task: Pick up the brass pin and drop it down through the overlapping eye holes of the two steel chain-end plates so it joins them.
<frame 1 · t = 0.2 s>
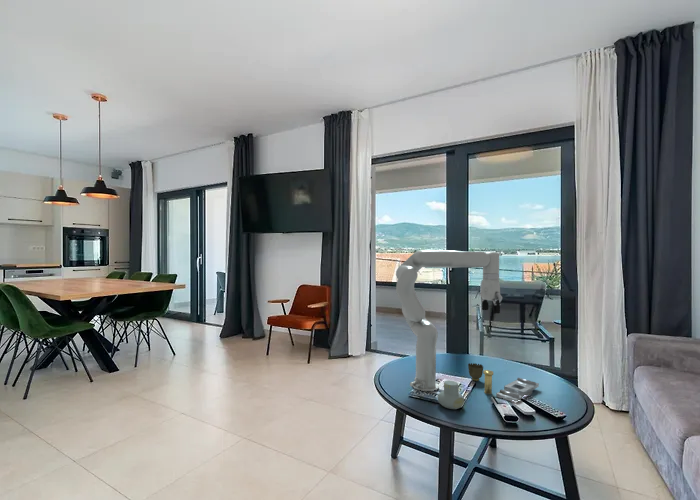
hand: (490, 311, 173), 36 cm above the table, tool pointing down, fingers open, 9 cm apart
brass pin: (488, 393, 163), on the table
air freshener: (450, 406, 149), on the table
cup: (475, 381, 179), on the table
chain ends: (518, 393, 164), on the table
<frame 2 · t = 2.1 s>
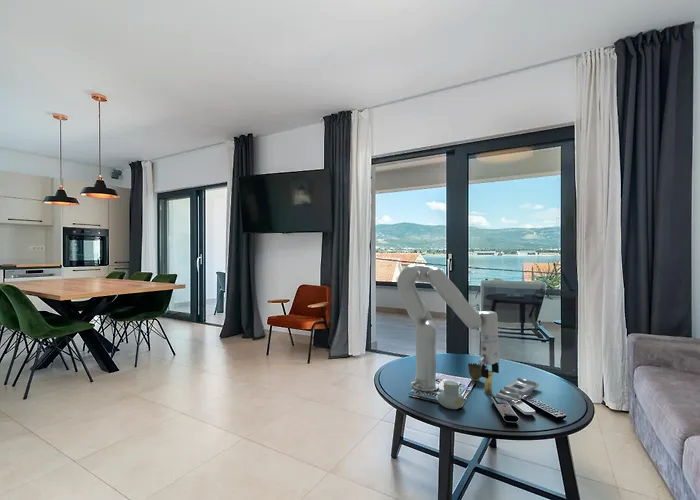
hand: (490, 374, 163), 9 cm above the table, tool pointing down, fingers open, 9 cm apart
nothing on the table moved.
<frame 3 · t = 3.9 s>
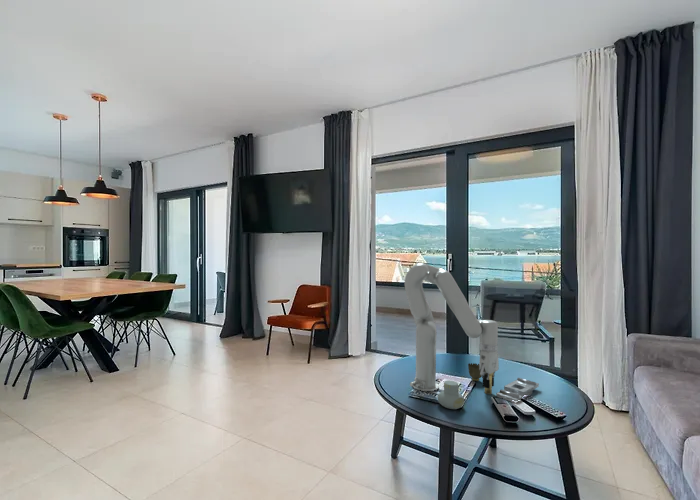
hand: (488, 386, 163), 3 cm above the table, tool pointing down, fingers closed on brass pin, 3 cm apart
brass pin: (488, 393, 163), on the table, touching gripper
everything else where it was.
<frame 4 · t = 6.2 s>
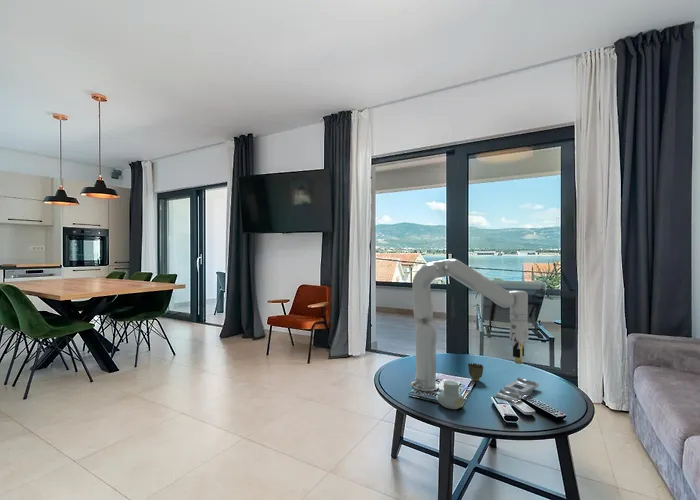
hand: (518, 356, 164), 17 cm above the table, tool pointing down, fingers closed on brass pin, 3 cm apart
brass pin: (518, 362, 164), point 14 cm above the table, touching gripper
everything else where it was.
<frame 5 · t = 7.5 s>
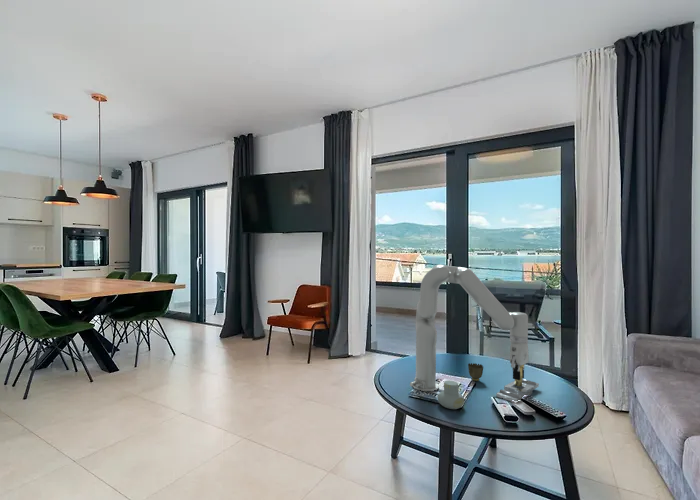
hand: (518, 378, 164), 7 cm above the table, tool pointing down, fingers closed on brass pin, 3 cm apart
brass pin: (518, 384, 164), point 4 cm above the table, touching gripper
everything else where it was.
when the fingers open (5 cm above the table, at t = 8.6 s): brass pin drops 1 cm, resting in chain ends.
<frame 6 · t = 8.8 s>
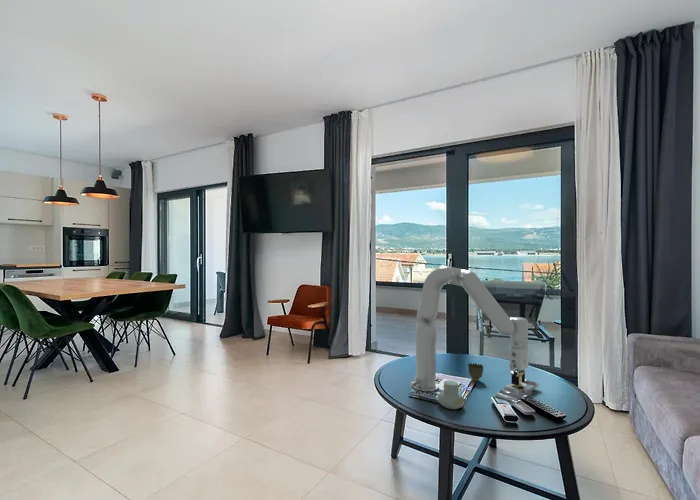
hand: (518, 382, 164), 5 cm above the table, tool pointing down, fingers open, 5 cm apart
brass pin: (517, 393, 163), resting in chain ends
everything else where it was.
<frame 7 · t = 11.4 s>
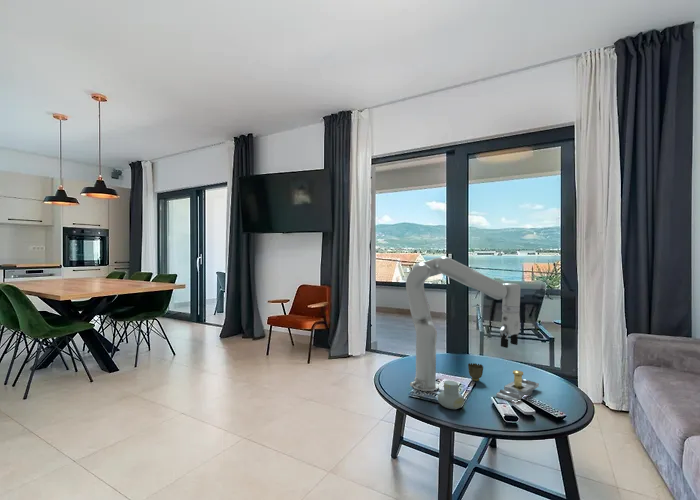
hand: (509, 345, 165), 22 cm above the table, tool pointing down, fingers open, 9 cm apart
nothing on the table moved.
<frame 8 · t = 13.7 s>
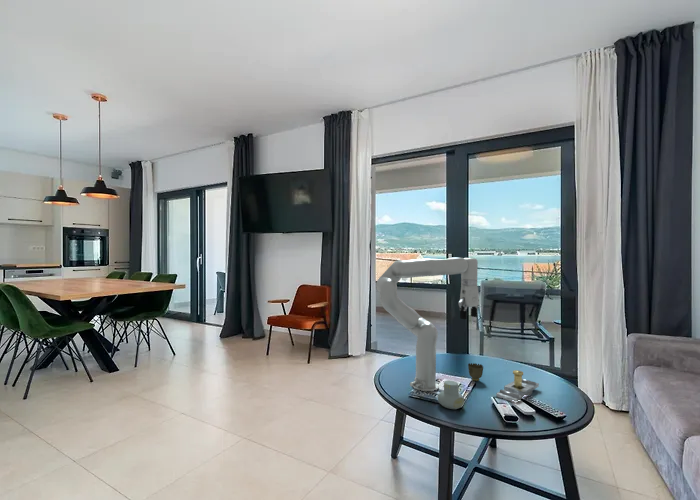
hand: (468, 317, 172), 33 cm above the table, tool pointing down, fingers open, 9 cm apart
nothing on the table moved.
at the end: brass pin 0.2 cm off-centre on the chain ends, point 0.0 cm above the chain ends's base; brass pin tilted 0°; the gripper is holding nothing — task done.
